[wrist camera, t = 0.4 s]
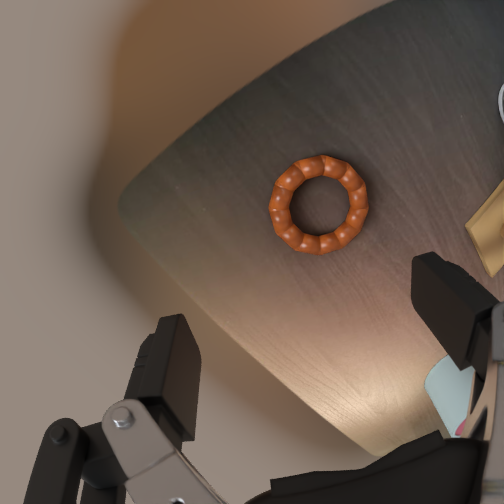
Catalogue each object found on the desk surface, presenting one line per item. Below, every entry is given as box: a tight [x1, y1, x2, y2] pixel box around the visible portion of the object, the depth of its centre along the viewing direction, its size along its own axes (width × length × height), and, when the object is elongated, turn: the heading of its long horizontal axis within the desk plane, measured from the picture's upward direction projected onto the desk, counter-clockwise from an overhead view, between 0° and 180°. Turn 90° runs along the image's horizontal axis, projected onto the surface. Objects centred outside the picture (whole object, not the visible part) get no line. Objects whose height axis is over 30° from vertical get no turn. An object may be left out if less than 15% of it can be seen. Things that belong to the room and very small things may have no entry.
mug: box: [424, 355, 475, 438], centre depth 33 cm, size 14×9×10 cm
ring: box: [269, 155, 369, 255], centre depth 25 cm, size 8×8×2 cm
